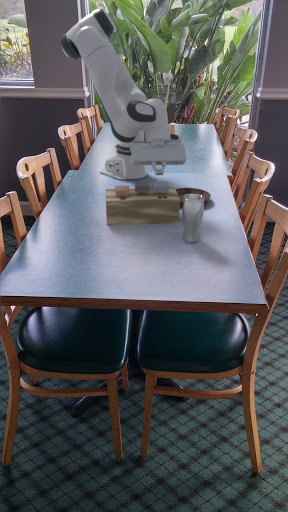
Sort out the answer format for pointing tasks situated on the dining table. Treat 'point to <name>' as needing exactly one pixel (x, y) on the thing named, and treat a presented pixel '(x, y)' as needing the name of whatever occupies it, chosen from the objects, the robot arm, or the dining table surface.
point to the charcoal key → (141, 186)
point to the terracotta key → (122, 190)
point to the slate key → (161, 186)
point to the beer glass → (192, 217)
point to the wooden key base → (142, 207)
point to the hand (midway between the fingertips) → (159, 174)
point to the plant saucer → (185, 191)
